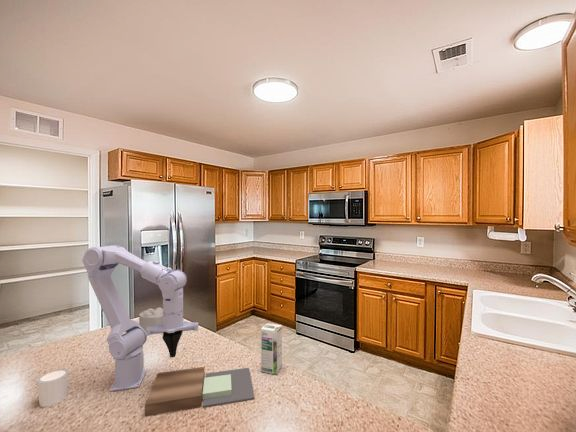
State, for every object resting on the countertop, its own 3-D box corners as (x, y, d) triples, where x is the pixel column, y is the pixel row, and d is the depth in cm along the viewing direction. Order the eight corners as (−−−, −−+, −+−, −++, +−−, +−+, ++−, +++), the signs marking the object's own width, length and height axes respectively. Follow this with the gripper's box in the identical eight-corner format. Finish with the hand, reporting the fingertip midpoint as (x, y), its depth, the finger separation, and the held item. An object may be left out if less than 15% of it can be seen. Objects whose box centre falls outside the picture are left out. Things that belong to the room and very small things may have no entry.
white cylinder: (52, 392, 80) (52, 368, 80) (74, 392, 80) (75, 368, 80) (29, 408, 73) (29, 382, 73) (53, 408, 73) (54, 382, 73)
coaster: (204, 382, 83) (204, 377, 83) (230, 379, 85) (230, 374, 85) (202, 399, 75) (202, 393, 75) (231, 394, 77) (231, 389, 77)
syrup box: (260, 372, 90) (260, 328, 90) (267, 363, 95) (267, 322, 96) (275, 375, 88) (275, 330, 88) (282, 366, 93) (282, 324, 94)
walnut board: (157, 382, 84) (157, 372, 84) (204, 376, 88) (204, 366, 88) (144, 416, 70) (144, 404, 70) (201, 406, 73) (201, 395, 73)
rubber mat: (206, 375, 88) (206, 373, 88) (248, 369, 92) (248, 367, 92) (202, 407, 73) (202, 405, 73) (254, 399, 76) (254, 397, 76)
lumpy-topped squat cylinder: (157, 333, 121) (157, 314, 121) (132, 331, 124) (132, 312, 124) (172, 325, 131) (172, 307, 131) (149, 323, 134) (149, 305, 134)
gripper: (143, 317, 77) (143, 365, 77) (196, 313, 80) (196, 359, 80) (149, 309, 84) (149, 353, 83) (198, 306, 87) (198, 348, 87)
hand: (173, 355), depth 82 cm, fingers closed
